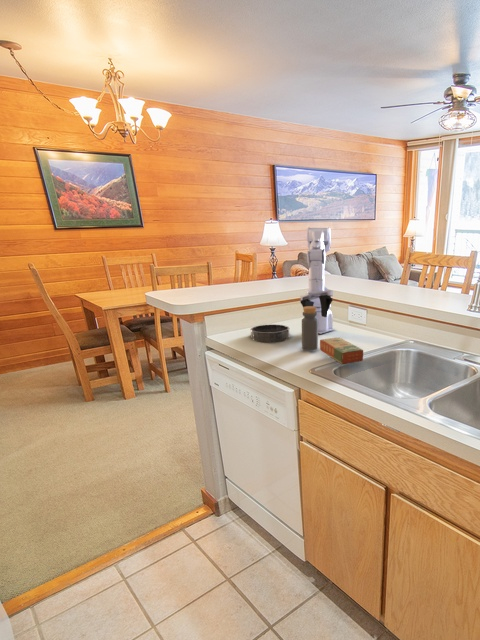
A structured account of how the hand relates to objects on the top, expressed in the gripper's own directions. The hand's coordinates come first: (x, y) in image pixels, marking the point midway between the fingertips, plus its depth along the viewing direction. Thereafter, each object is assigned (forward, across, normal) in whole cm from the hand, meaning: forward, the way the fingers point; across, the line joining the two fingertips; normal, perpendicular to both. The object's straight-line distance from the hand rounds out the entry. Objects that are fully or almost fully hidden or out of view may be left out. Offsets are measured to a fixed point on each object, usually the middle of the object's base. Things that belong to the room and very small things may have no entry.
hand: (316, 318), depth 153 cm
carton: (+16, +15, -4) cm, 22 cm away
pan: (+6, -23, -2) cm, 24 cm away
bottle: (+12, -1, -3) cm, 12 cm away
